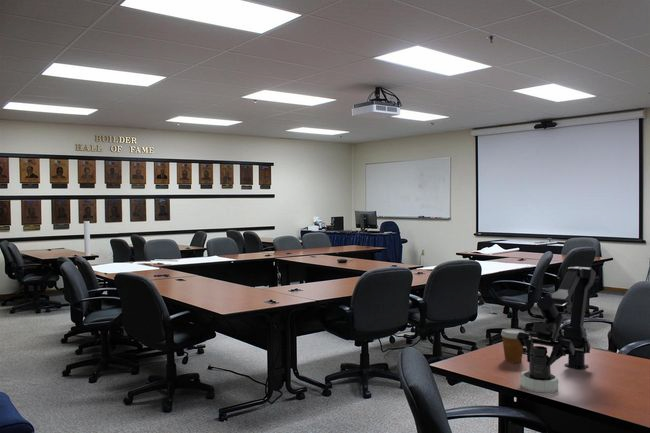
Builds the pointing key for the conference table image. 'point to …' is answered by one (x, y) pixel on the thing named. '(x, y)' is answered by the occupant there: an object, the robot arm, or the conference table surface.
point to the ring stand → (539, 383)
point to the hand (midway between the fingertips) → (537, 363)
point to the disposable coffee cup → (512, 345)
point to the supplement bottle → (539, 364)
